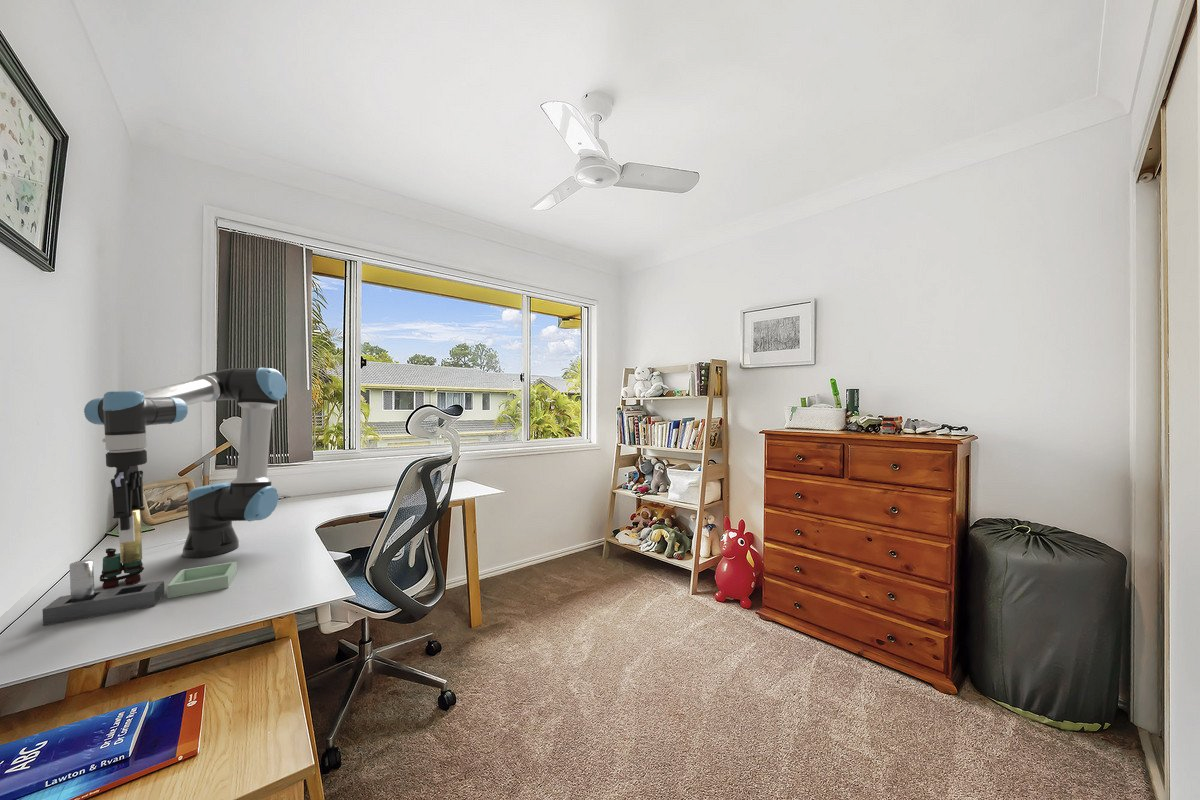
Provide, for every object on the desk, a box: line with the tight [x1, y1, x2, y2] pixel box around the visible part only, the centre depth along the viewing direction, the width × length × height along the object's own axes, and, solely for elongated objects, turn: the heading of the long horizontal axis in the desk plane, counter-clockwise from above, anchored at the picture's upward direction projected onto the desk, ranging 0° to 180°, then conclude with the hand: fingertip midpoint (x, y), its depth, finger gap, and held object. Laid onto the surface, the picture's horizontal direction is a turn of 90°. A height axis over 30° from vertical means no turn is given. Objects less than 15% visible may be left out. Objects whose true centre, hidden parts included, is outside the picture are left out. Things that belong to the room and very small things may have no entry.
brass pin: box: [119, 509, 143, 564], centre depth 123 cm, size 4×4×13 cm
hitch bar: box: [42, 579, 166, 627], centre depth 120 cm, size 8×20×4 cm, turn 119°
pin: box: [69, 559, 95, 603], centre depth 118 cm, size 4×4×13 cm
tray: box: [166, 561, 238, 599], centre depth 135 cm, size 13×13×3 cm
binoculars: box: [99, 548, 145, 590], centre depth 136 cm, size 9×11×10 cm
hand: (130, 538), depth 123 cm, fingers closed on brass pin, 4 cm apart
